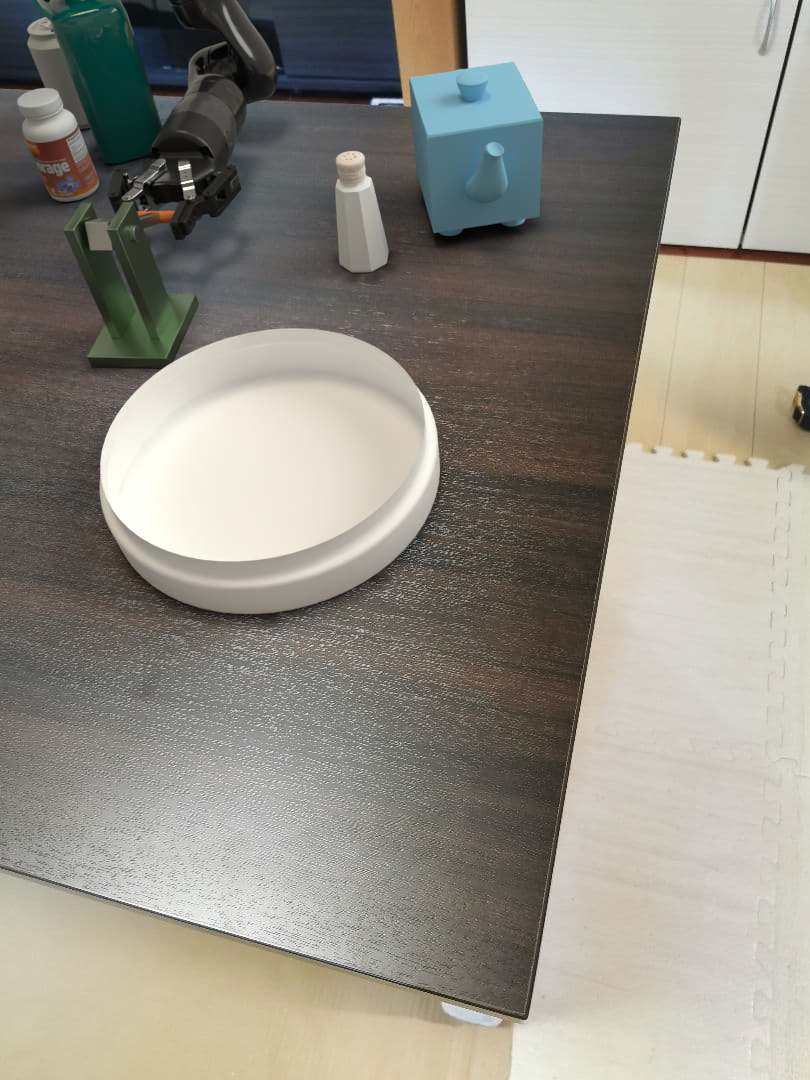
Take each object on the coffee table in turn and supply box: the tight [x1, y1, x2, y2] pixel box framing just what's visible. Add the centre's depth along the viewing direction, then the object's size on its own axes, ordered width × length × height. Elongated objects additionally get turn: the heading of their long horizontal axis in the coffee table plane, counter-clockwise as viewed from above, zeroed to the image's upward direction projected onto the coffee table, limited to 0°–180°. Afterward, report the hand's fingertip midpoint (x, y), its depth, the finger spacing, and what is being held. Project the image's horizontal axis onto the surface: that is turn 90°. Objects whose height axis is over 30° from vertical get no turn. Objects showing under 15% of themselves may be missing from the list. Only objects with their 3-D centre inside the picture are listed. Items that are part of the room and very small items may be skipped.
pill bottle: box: [16, 87, 100, 203], centre depth 98 cm, size 6×6×11 cm
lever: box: [85, 210, 175, 252], centre depth 79 cm, size 13×5×2 cm, turn 173°
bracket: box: [62, 202, 200, 369], centre depth 78 cm, size 10×8×13 cm
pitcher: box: [31, 0, 163, 165], centre depth 100 cm, size 10×8×22 cm
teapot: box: [408, 61, 544, 237], centre depth 86 cm, size 22×11×14 cm, turn 7°
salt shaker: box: [334, 150, 390, 274], centre depth 84 cm, size 5×5×11 cm
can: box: [26, 16, 90, 130], centre depth 110 cm, size 8×8×12 cm
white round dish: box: [99, 327, 441, 615], centre depth 67 cm, size 27×27×6 cm
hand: (149, 232), depth 83 cm, fingers closed on lever, 5 cm apart
